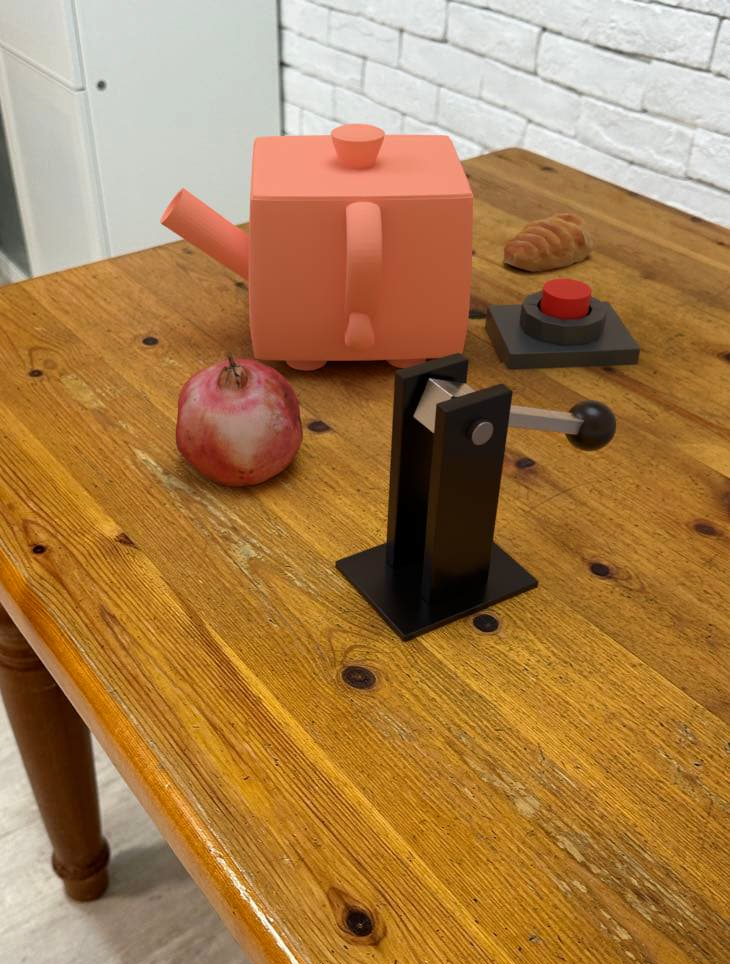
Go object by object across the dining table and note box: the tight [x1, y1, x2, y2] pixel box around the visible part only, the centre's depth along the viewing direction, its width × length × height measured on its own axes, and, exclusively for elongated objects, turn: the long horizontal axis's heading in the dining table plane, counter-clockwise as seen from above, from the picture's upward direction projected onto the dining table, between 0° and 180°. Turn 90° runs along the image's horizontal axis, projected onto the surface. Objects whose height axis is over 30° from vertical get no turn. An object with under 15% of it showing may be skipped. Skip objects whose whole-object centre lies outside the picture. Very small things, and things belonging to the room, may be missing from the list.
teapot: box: [159, 123, 474, 371], centre depth 87 cm, size 25×23×18 cm
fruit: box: [175, 351, 304, 488], centre depth 73 cm, size 9×10×10 cm
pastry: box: [503, 212, 594, 273], centre depth 105 cm, size 9×7×4 cm
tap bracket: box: [334, 353, 539, 643], centre depth 62 cm, size 10×8×15 cm
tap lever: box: [414, 378, 617, 452], centre depth 62 cm, size 15×3×3 cm, turn 120°
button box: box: [484, 289, 641, 371], centre depth 90 cm, size 11×9×4 cm
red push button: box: [540, 278, 593, 320], centre depth 88 cm, size 4×4×2 cm
